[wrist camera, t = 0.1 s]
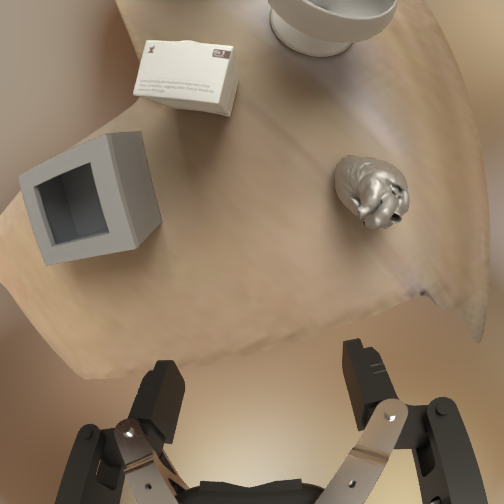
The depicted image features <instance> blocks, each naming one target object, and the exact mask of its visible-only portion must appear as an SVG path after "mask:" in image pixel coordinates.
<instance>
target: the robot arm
mask: <svg viewBox="0 0 504 504" xmlns="http://www.w3.org/2000/svg"><path fill="white" fill-rule="evenodd" d="M342 368H343V374H344V378H345V382H346V385H347V389H348V393H349V397H350V401H351V404H352V408H353V412H354V416H355V420H356V424H357V428H358V431H362V430H364V431H363V433H362V435H361V437H360V439H359V440H358V442H357V444H356V446H355V447H354V448H353V449H352V450H351V451H350V453H349V454H348V456H347V457H346V459H345V460H344V462H343V464H342V465H341V467H340V468H339V470H338V471H337V473H336V474H335V476H334V477H333V479H332V480H331V481H330V483H329V484H328V486H327V487H326V488H325V489H324V488H322V487H319V486H316V485H312V484H306V483H302V481H301V479H293V480H283V481H274V482H271V483H267V484H263V485H259V486H255V487H250V488H248V487H242V486H238V485H233V484H229V483H225V482H209V481H200V486H197V487H193V488H189V487H188V486H187V484H186V483H185V482H184V481H183V480H182V479H181V478H180V476H179V475H178V473H177V471H176V470H175V468H174V466H173V465H172V463H171V462H170V460H169V458H168V456H167V454H166V453H165V451H164V450H163V445H164V443H167V444H172V443H173V438H174V434H175V430H176V425H177V421H178V416H179V413H180V409H181V404H182V400H183V396H184V392H185V382H184V379H183V377H182V376H181V374H180V372H179V370H178V368H177V366H176V364H175V362H174V361H173V360H158V361H157V362H156V364H155V367H154V370H150V371H149V372H148V373H147V374H146V375H145V376H144V378H143V379H142V382H141V384H140V388H139V390H138V394H137V395H136V397H135V400H134V403H133V406H132V408H131V411H130V413H129V416H128V418H127V419H124V420H122V421H120V422H119V423H118V424H117V425H116V427H115V428H110V429H103V430H100V429H99V428H98V427H97V426H96V425H94V424H87V425H85V426H83V427H82V428H81V429H80V430H79V432H78V434H77V437H76V439H75V442H74V445H73V448H72V450H71V453H70V456H69V459H68V462H67V465H66V468H65V471H64V474H63V477H62V480H61V484H60V487H59V491H58V494H57V497H56V501H55V504H119V503H120V498H121V493H122V488H123V483H124V479H125V477H126V479H127V481H128V483H129V486H130V488H131V490H132V492H133V494H134V496H135V498H136V500H137V502H138V504H364V502H365V501H366V499H367V498H368V496H369V494H370V492H371V491H372V489H373V487H374V486H375V484H376V482H377V480H378V479H379V477H380V475H381V473H382V471H383V469H384V468H385V465H386V463H387V462H388V459H389V457H390V454H391V452H392V450H393V449H412V453H413V458H414V462H415V466H416V470H417V476H418V480H419V486H420V491H421V496H422V502H423V504H488V502H487V497H486V493H485V489H484V485H483V481H482V477H481V474H480V471H479V467H478V464H477V460H476V457H475V454H474V451H473V448H472V445H471V442H470V439H469V437H468V434H467V431H466V428H465V426H464V423H463V421H462V418H461V416H460V413H459V411H458V408H457V406H456V404H455V403H454V401H453V400H451V399H449V398H446V397H439V398H436V399H434V400H433V401H431V402H430V404H429V405H421V406H411V405H407V404H405V403H403V402H402V401H400V400H399V398H398V397H397V395H396V393H395V390H394V388H393V385H392V383H391V380H390V378H389V375H388V373H387V371H386V368H385V366H384V364H383V361H382V359H381V356H380V355H379V353H378V352H377V351H376V350H375V349H374V348H372V347H368V348H363V345H362V343H361V340H360V339H359V338H357V339H353V340H348V341H344V342H343V355H342ZM100 460H101V461H100ZM99 461H100V465H99V468H98V464H99ZM97 468H98V472H97ZM96 472H97V475H96Z"/></svg>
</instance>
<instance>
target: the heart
mask: <svg viewBox="0 0 504 504" xmlns="http://www.w3.org/2000/svg"><path fill="white" fill-rule="evenodd" d="M335 189H336V193H337V195H338V197H339V199H340V200H341V202H342V203H343V205H344V206H345V207H347V208H348V209H349V210H350V211H351V212H352V213H353V214H354V215H356V216H357V217H358V218H359V219H363V218H364V219H363V220H362V224H363V226H364V227H366V228H370V229H378V228H380V227H382V228H384V229H386V228H388V227H390V226H391V225H392V224H393V223H398V222H400V221H401V220H402V217H401V216H402V215H403V214H404V213H406V212H407V211H408V208H409V201H410V200H409V193H408V191H407V182H406V179H405V177H404V175H403V174H402V172H401V171H399V170H398V169H397V168H396V167H395V166H393V165H391V164H389V163H387V162H385V161H382V160H378V159H375V158H371V157H361V156H353V155H349V156H346V157H343V158H342V159H341V160H340V161H339V162H338V164H337V166H336V171H335Z"/></svg>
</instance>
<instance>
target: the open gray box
mask: <svg viewBox="0 0 504 504" xmlns="http://www.w3.org/2000/svg"><path fill="white" fill-rule="evenodd" d="M18 179H19V183H20V188H21V192H22V195H23V199H24V203H25V206H26V210H27V213H28V217H29V220H30V223H31V226H32V229H33V232H34V235H35V238H36V241H37V244H38V246H39V249H40V252H41V254H42V257H43V259H44V262H45V264H46V266H48V265H53V264H58V263H63V262H68V261H73V260H79V259H84V258H89V257H95V256H100V255H106V254H111V253H117V252H122V251H128V250H134V249H137V248H138V247H139V246H140V245H141V244H142V242H143V241H144V240H145V239H146V238H147V237H148V236H149V235H150V234H151V233H152V232H153V231H154V230H155V229H156V228H157V227H158V226H159V225H160V224H161V223H162V219H161V215H160V212H159V208H158V204H157V200H156V196H155V192H154V188H153V184H152V180H151V175H150V171H149V167H148V162H147V158H146V153H145V148H144V144H143V139H142V134H141V131H136V132H120V133H108V134H104V135H101V136H99V137H97V138H94V139H92V140H89V141H87V142H85V143H82V144H80V145H78V146H76V147H73V148H71V149H69V150H67V151H65V152H63V153H61V154H59V155H57V156H54V157H52V158H51V159H49V160H47V161H45V162H43V163H41V164H39V165H37V166H35V167H33V168H32V169H30V170H28V171H26V172H25V173H23V174H21V175H19V176H18Z"/></svg>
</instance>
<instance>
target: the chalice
mask: <svg viewBox="0 0 504 504" xmlns="http://www.w3.org/2000/svg"><path fill="white" fill-rule="evenodd" d="M268 3H269V4H270V5H271V7H272V8H271V11H270V23H271V27H272V29H273V31H274V33H275V34H276V36H277V37H278V38H279V39H280V40H281V41H282V43H284V44H285V45H287V46H288V47H289V48H291V49H293V50H295V51H297V52H299V53H302V54H305V55H308V56H314V57H329V56H333V55H337V54H339V53H341V52H343V51H345V50H346V49H347V48H348V47H349V46H350V45H351V44H352V42H359V41H363V40H367V39H369V38H371V37H373V36H375V35H376V34H378V33H380V32H381V31H382V30H383V29H384V28H385V27H386V26H387V25H388V24H389V22H390V21H391V19H392V17H393V15H394V13H395V10H396V7H397V0H268Z"/></svg>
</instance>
